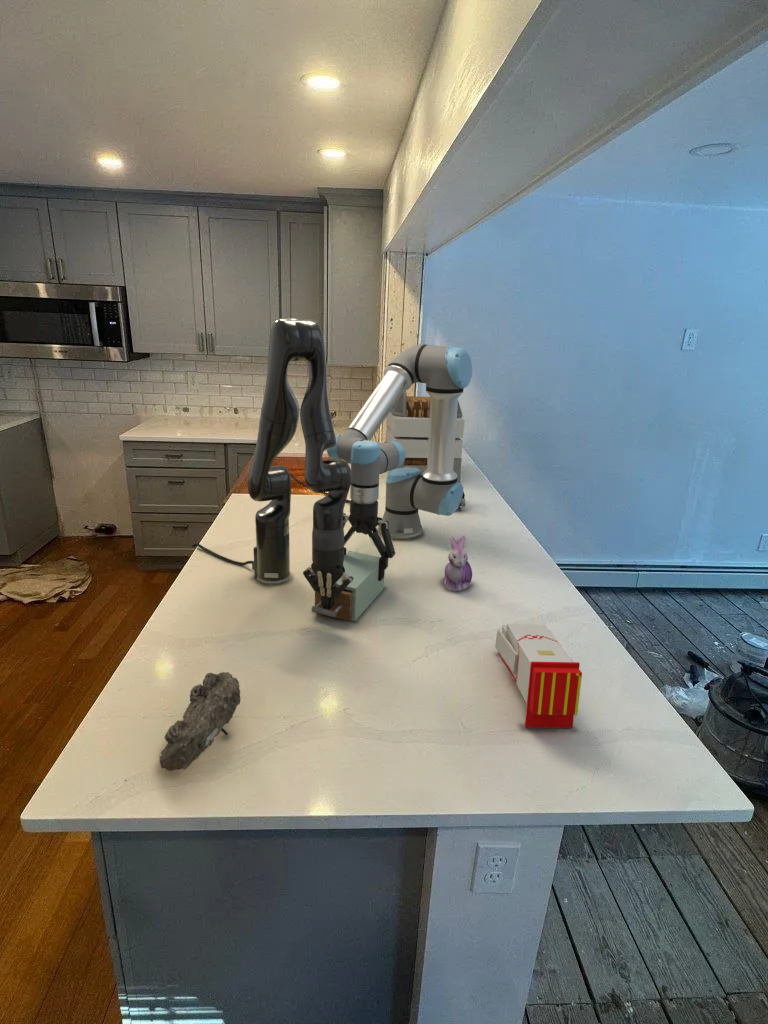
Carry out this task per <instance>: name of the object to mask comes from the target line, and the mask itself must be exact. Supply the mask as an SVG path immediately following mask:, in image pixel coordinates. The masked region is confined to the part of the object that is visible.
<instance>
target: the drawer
mask: <svg viewBox="0 0 768 1024" xmlns="http://www.w3.org/2000/svg"><path fill="white" fill-rule="evenodd" d="M336 589H338V588H337V587H336ZM311 612H312V613H315V614H319V615H323V616H327V617H331V618H336V619H339V620H344V621H348V622H351V619H352V591H350V590H346V589H344V590H343V591H342V592H341V593H340V594H339V595H338V596H337V597H335V596H334V606H333V607H332V608H331V609H330V610H327V609H323V607H322V605H321V594H320V593H319V592H315V591H314V606H311Z"/></svg>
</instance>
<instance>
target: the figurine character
mask: <svg viewBox="0 0 768 1024" xmlns="http://www.w3.org/2000/svg"><path fill="white" fill-rule="evenodd" d="M465 496H466V494H465V492H464V490H463V496H462V499H461V502H460V504H459V506H458V508H457V509H458V511H461V510H462V509H461V508H465V505H466V497H465Z"/></svg>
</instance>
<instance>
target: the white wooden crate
mask: <svg viewBox="0 0 768 1024" xmlns="http://www.w3.org/2000/svg"><path fill="white" fill-rule="evenodd" d="M407 394H408V393H407V390H405V391H404V392H403V393H402V394H401V396H400V397H399V399H398V400H397V402H396V403H395V405H394V406H393V408H392V409H391V411H390V412H389V414H388V415H387V417H386V418H385V423H386V428H385V438H384V442H383V443H386V442H392V441H395V442H398V443H399V444H401V445H402V447H403V448H404V450H405V460H404V462H403V464H402V465H401V466H399V467H397V468H396V469H398V468H405V466H406V467H408V466H411V467H415V466H416V467H417V466H418V467H427V459H428V438H429V417H430V396H415V395H414V396H413V395H412V396H411V395H407ZM464 429H465V419H464V418H463V411H462V408H461V405H460V402H459V401H458V405H457V420H456V435H455V450H454V466H453V471H454V472H455V473H456V474H457V482H460V483H461V472H462V461H463V460H462V453H463V442H464V441H463V440H462V439H463V438H464V431H465V430H464ZM390 471H391V470H390ZM390 471H389V472H390Z"/></svg>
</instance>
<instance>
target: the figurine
mask: <svg viewBox="0 0 768 1024" xmlns="http://www.w3.org/2000/svg"><path fill="white" fill-rule="evenodd" d="M449 539H450V540H449V541H450V551H449V553H448V561H449V562H448V563H447V564H446V565H445V566H444V577H443V585H444V586H445V588H446V589H447V590H449V591H452V592H461V591H463V590H464V591H465V590H467V589H468V588H469V587H470V586H471V582H472V580H473V569H472V567H471V565H470V563H469V561H468V559H469V556H468V553H467V550H466V548H465V544H466V535H465V534H463V535H462V536H461V537H460V538H459V540H458V541H457V540H456V538H455V536H453V535H451V536H450V537H449Z"/></svg>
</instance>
